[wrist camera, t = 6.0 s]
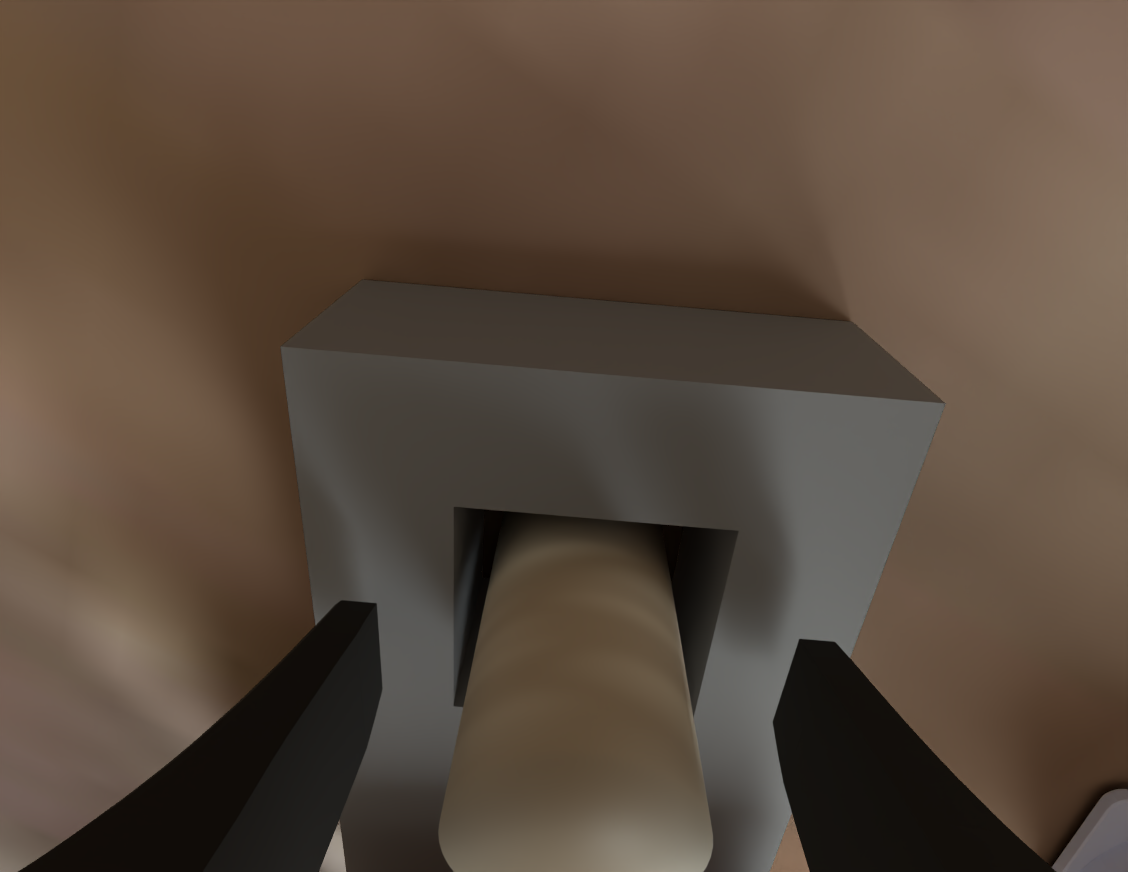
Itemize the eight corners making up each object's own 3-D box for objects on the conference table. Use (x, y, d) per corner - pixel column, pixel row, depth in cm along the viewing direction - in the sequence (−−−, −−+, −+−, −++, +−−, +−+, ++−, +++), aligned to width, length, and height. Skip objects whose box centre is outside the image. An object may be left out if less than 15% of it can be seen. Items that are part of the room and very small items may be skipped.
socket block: (852, 321, 14) (945, 404, 10) (723, 771, 20) (751, 918, 16) (362, 279, 13) (280, 346, 10) (391, 743, 20) (348, 884, 16)
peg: (668, 449, 15) (739, 766, 8) (645, 575, 17) (686, 931, 10) (510, 434, 15) (439, 739, 8) (502, 561, 17) (437, 910, 10)
